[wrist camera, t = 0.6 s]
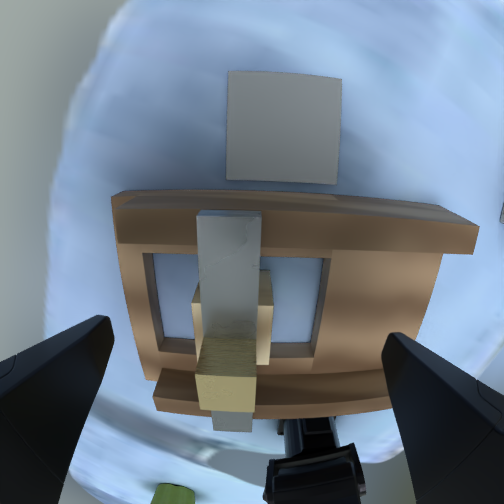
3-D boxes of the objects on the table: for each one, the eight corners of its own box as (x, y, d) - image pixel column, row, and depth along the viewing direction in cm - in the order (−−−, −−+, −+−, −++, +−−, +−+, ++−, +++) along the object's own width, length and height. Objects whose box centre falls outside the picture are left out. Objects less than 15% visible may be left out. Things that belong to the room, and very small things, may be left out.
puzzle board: (391, 366, 26) (409, 404, 21) (151, 365, 26) (135, 406, 21) (438, 205, 20) (479, 226, 15) (122, 191, 20) (85, 210, 15)
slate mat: (335, 183, 19) (336, 184, 19) (226, 179, 19) (225, 179, 19) (340, 80, 17) (341, 79, 16) (229, 72, 17) (228, 71, 16)
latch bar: (251, 420, 21) (251, 463, 17) (214, 419, 21) (209, 461, 17) (261, 211, 14) (263, 239, 11) (200, 209, 14) (181, 237, 11)
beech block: (266, 323, 24) (268, 364, 19) (206, 321, 24) (197, 361, 19) (269, 269, 22) (273, 305, 17) (203, 267, 22) (191, 303, 17)
